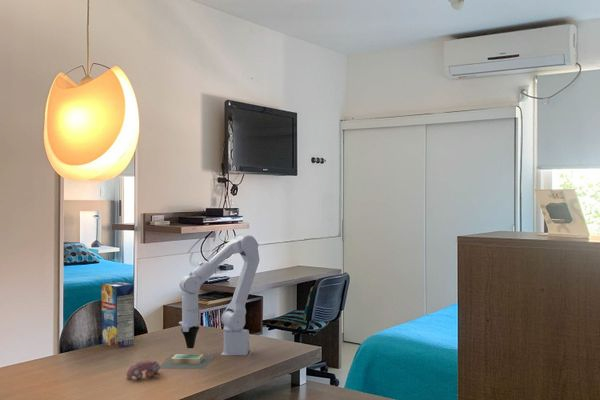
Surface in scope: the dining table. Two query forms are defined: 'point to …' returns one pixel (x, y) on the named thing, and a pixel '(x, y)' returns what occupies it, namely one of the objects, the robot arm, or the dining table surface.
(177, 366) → the mat
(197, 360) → the slab
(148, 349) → the dining table surface
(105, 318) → the juice carton
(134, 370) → the purple toy animal
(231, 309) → the robot arm
